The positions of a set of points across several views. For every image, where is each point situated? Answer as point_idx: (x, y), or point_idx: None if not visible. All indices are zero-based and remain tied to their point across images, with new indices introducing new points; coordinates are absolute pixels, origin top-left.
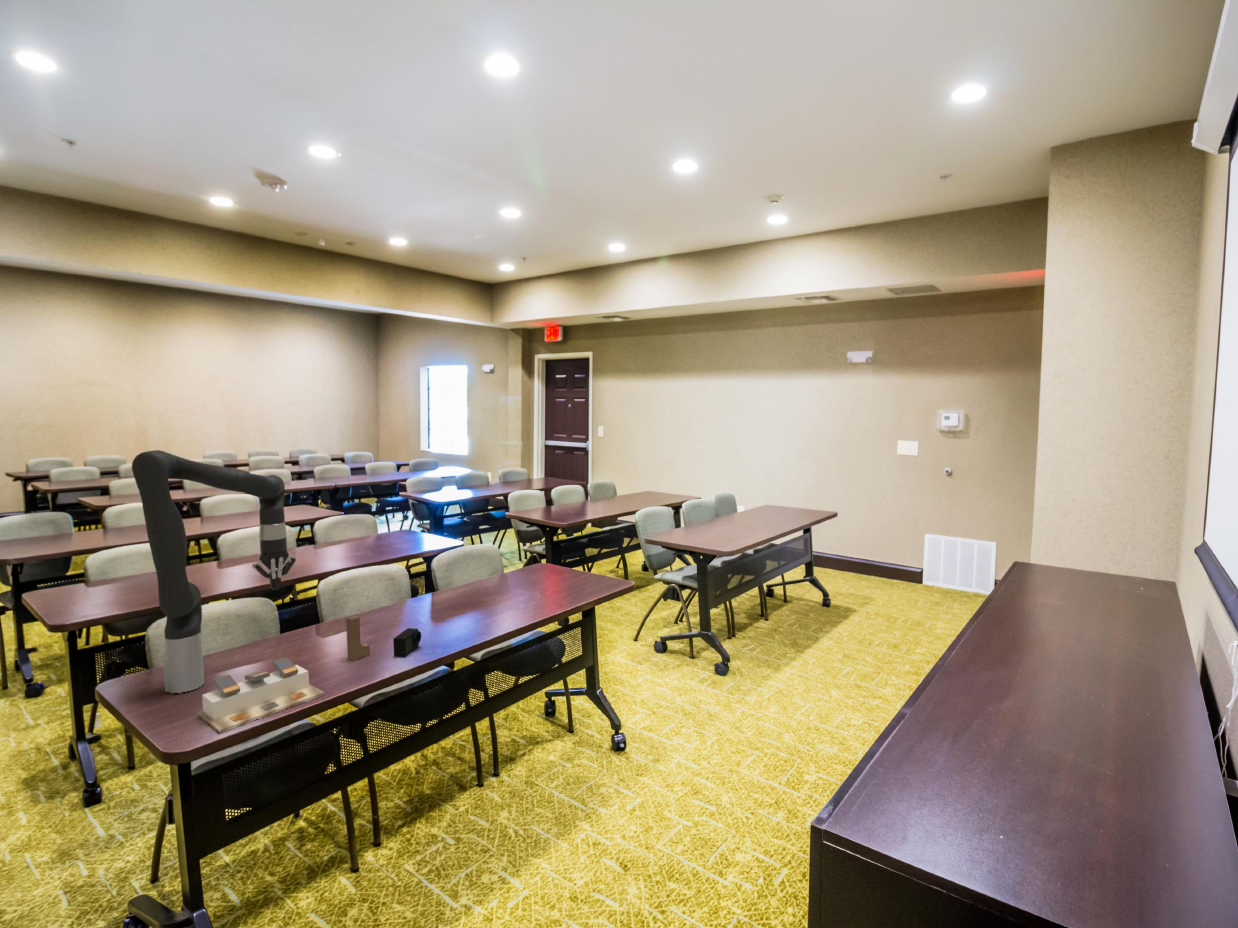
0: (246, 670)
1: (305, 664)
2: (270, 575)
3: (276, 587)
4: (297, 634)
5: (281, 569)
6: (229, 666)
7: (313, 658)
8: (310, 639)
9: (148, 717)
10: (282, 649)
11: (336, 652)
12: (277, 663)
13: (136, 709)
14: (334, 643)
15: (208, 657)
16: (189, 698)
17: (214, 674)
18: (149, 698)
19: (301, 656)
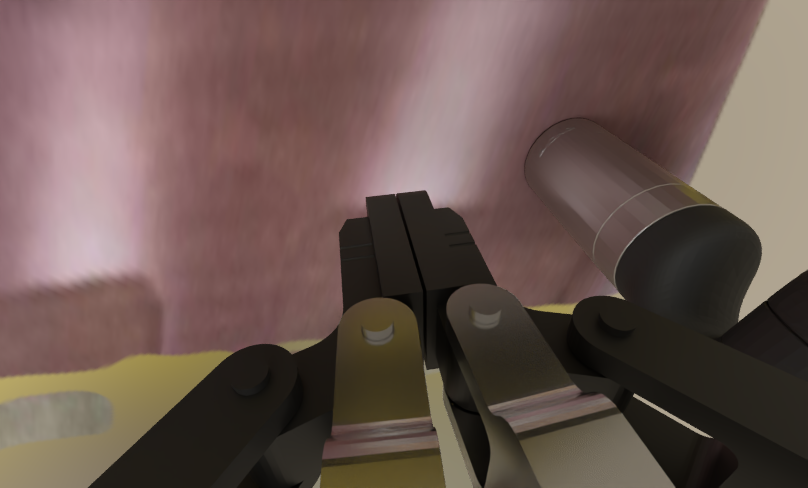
0: (413, 166)
1: (240, 65)
2: (551, 352)
3: (408, 203)
4: (218, 338)
5: (350, 457)
6: None
7: (201, 106)
8: (186, 284)
9: (729, 6)
10: (281, 258)
11: (100, 100)
12: None
13: (699, 100)
14: (104, 200)
15: None
16: (604, 65)
17: (482, 200)
18: (643, 153)
19: (239, 160)
